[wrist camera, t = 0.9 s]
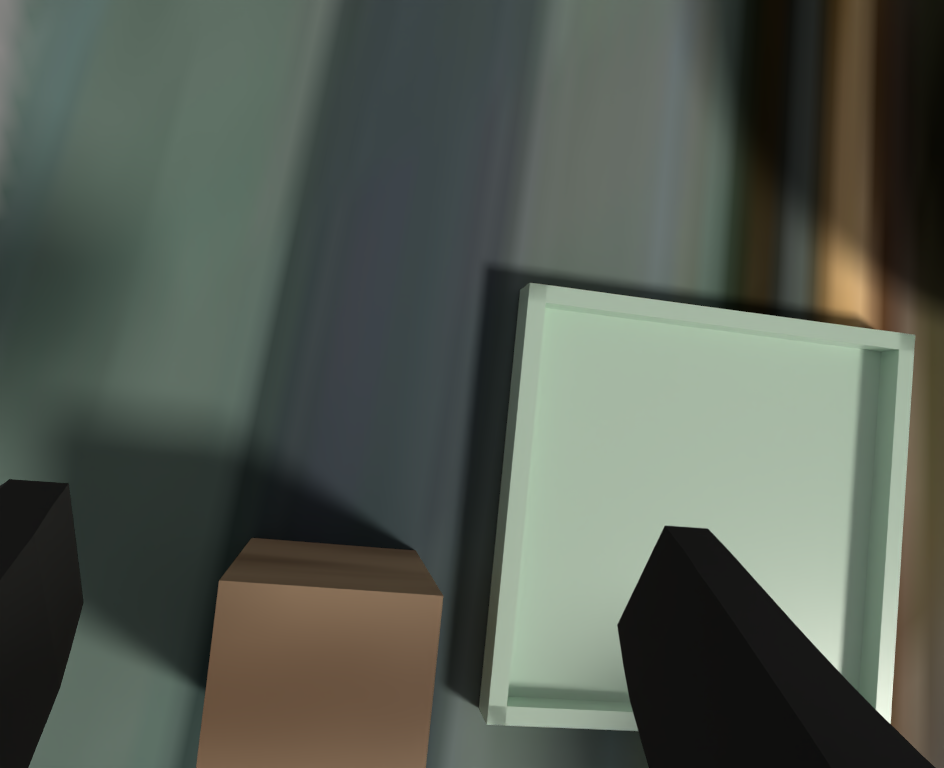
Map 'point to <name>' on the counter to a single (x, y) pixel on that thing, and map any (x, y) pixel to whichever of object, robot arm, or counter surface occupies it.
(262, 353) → the counter surface
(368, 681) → the walnut block
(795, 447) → the tray
